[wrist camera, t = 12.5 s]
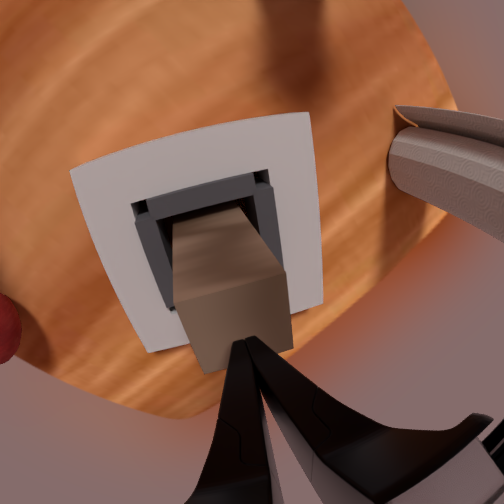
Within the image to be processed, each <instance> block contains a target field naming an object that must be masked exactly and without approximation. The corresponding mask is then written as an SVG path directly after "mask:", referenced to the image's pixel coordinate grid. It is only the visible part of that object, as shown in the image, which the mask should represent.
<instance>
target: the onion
mask: <svg viewBox="0 0 504 504" xmlns="http://www.w3.org/2000/svg"><path fill="white" fill-rule="evenodd" d="M21 332H22V328H21V321H20V318H19V314H18V312H17V310H16V308H15V307H14V305H13V303H12V301H11V299H10V298H9V297H7V296H6V295H3V294H2V293H0V364H3V363H5V362H7V361H9V359H10V358H11V357H12V356H13V355H14V354H15V352H16V351H17V349H18V347H19V345H20V340H21Z"/></svg>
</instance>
